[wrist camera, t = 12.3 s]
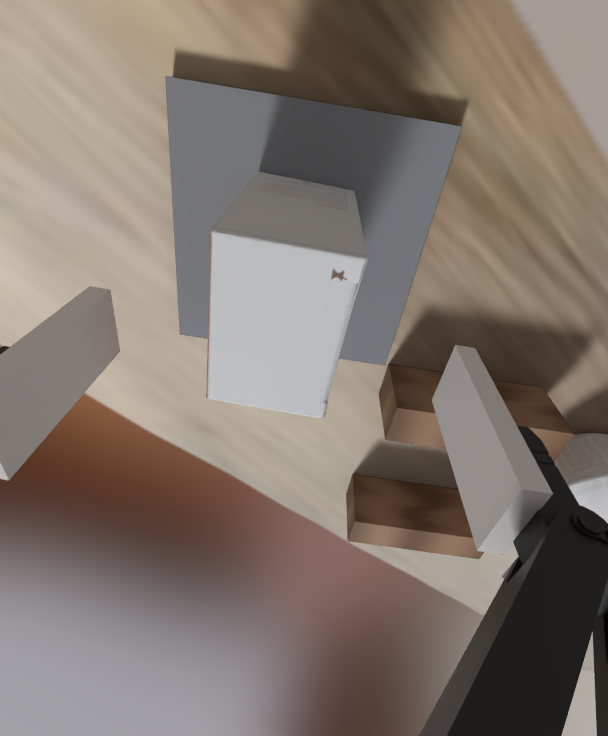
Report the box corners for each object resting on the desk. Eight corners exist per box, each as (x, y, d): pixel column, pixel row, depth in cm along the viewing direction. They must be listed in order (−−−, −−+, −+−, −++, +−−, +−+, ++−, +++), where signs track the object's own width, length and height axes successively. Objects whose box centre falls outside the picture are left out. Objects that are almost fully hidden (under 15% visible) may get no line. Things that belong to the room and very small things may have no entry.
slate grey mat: (456, 124, 21) (461, 126, 20) (383, 357, 29) (385, 365, 28) (172, 76, 20) (165, 76, 19) (184, 327, 29) (179, 334, 28)
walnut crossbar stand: (542, 387, 30) (575, 434, 26) (464, 510, 39) (479, 559, 35) (388, 364, 30) (397, 407, 26) (346, 493, 39) (347, 541, 35)
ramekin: (480, 471, 36) (500, 523, 32) (597, 399, 30) (640, 450, 26) (555, 519, 39) (582, 571, 35) (672, 462, 34) (721, 516, 30)
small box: (257, 168, 21) (206, 221, 13) (357, 189, 22) (371, 254, 13) (245, 299, 26) (202, 402, 18) (327, 314, 26) (324, 423, 18)
